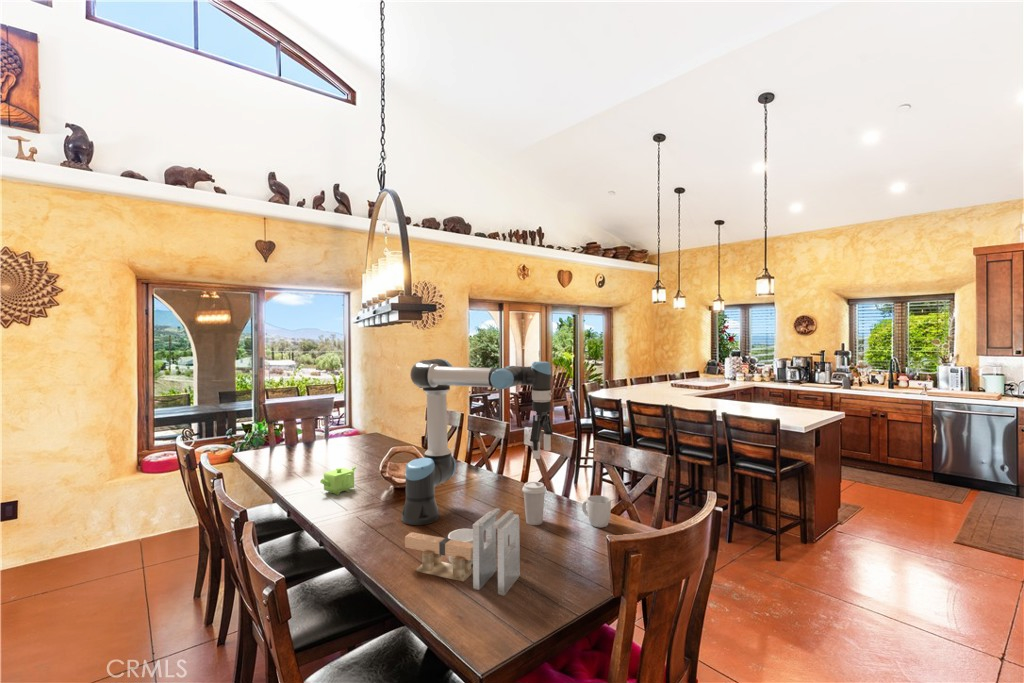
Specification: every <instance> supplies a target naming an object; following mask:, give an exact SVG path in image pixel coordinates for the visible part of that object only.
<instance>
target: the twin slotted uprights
mask: <svg viewBox="0 0 1024 683" xmlns="http://www.w3.org/2000/svg"><path fill="white" fill-rule="evenodd" d="M500 513H501V508H498V507H495V508H494V509H493V510H489V511H488V512H486V513H485V514H484V515H483V516H482V517H480V518H479V519H478V520H476V521H475V522H474V523H473V524H472V529H473V564H472V568H473V573H472V585H473V586H472V588H473V589H472V590H478V591H480V590H481V589H482V588H483V587H484V586H485V584H487V582H488V581H489V580H490V579H491V577H493V576H494V574H495V573H496V572H497V595H500V596H506V594H507V593H508V592H509V590H510V589H511V588H512V586H513V585H514V584H515V583H516V581H517V580H518V579H519V577H520V575H521V573H520V572H521V566H520V565H521V564H520V562H521V561H520V556H521V555H520V548H521V547H520V546H521V545H520V544H521V543H520V514H516V513H514V510H512V509H511V510H509V509H508V510H507V511H506V512H505V513H504V514H502V516H501V517H499V518H498V519H497V515H499V514H500ZM484 533H485V534H484ZM484 535H485V536H484ZM484 538H485V539H484ZM484 540H485V541H484Z"/></svg>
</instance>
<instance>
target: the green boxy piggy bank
mask: <svg viewBox="0 0 1024 683" xmlns="http://www.w3.org/2000/svg"><path fill="white" fill-rule="evenodd" d="M357 468H358V466H357V465H356V466H354V467H352V468H351V469H348V468H345V467H342V468H341V467H338V468H336V469H334V470H330V471H327V472H323V478H322V479H320V484H322V485H323V490H324V491H326V492H328V494H331V493H333V494H334V495H336V496H338V495H339V496H340V494H341V492H345V493H349V492H350V491H351V490H350V489H354V488H355V470H356V469H357Z"/></svg>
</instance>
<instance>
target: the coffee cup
mask: <svg viewBox="0 0 1024 683" xmlns="http://www.w3.org/2000/svg"><path fill="white" fill-rule="evenodd" d="M521 490H522V492H523V501H524V512H525V513H524V514H525V522H526V524H528V525H531V526H539V525H542V524H543V522H544V521H543V519H544V509H545V508H544V507H545V506H544V504H545V495H546V492H547V488H546V486H545V484H544V483H543V482H541V481H540V482H539V481H528V482H527V481H526V482H525V483H523V486H522V489H521Z"/></svg>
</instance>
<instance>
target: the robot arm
mask: <svg viewBox="0 0 1024 683" xmlns="http://www.w3.org/2000/svg"><path fill="white" fill-rule="evenodd" d="M410 380H411V382H412V383H413V384H414V386H417V387H418V388H422V391H423V392H424V393H425V394H426V418H427V419H426V423H427V425H426V426H427V449H426V451H424V457H418V458H414V459H412V460H411V461H409V462H408V463H407V464H406V466H405V471H404V472H405V473H404V476H405V477H404V478H405V502H404V505H403V508H402V510H401V511H402V512H401V521H402V522H403V523H404V524H406V525H410V526H423V525H429V524H432V523H434V522H436V521H438V519H439V518H440V510H439V508H438V504H437V502H436V498H435V497H436V496H435V492H436V490H435V487H437V486H439V485H441V484H443V483H445V482H447V481H449V480H450V479H451V478H452V477H453V476H454V475H455V473H456V470H457V460H456V459H455V458H454V456H453V455H452V450H451V449H450V448H449V447H448V443H449V442H448V406H447V405H448V404H447V403H448V402H447V393H448V392H449V391H450V390H451V386H453V387H473V388H474V387H476V388H478V387H479V388H493V389H494V388H495V389H497V390H506V389H509V388H512V387H517V386H531V387H532V388H531V400H532V402H531V406H532V407H531V410H532V411H533V412H536V413H535V415H534V414H533V415H532V426H531V433H530V439H529V442H531V443H532V459H533V460H540V459H541V442H540V439H541V438H540V437H541V433H542V429H543V433H544V434H543V451H546V452H551V451H552V450H551V449H552V448H551V445H552V444H551V441H552V440H551V439H552V438H551V435H553V434H554V433H553V432H554V431H553V425H552V421H551V411H552V402H551V400H552V395H553V393H552V365H551V362H549V361H533V362H532V363H531V365H530V366H520V365H519V366H517V365H508V366H507V365H506V366H505V367H503V368H501V367H478V366H477V367H471V366H469V367H468V366H453V365H452V364H451V363H450V362H449V361H448V360H446V359H442V358H434V359H433V358H431V359H425V360H424V359H422V360H419V361H417V362H416V363H415V364H414V365H413V366H412V367H411V370H410Z"/></svg>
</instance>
